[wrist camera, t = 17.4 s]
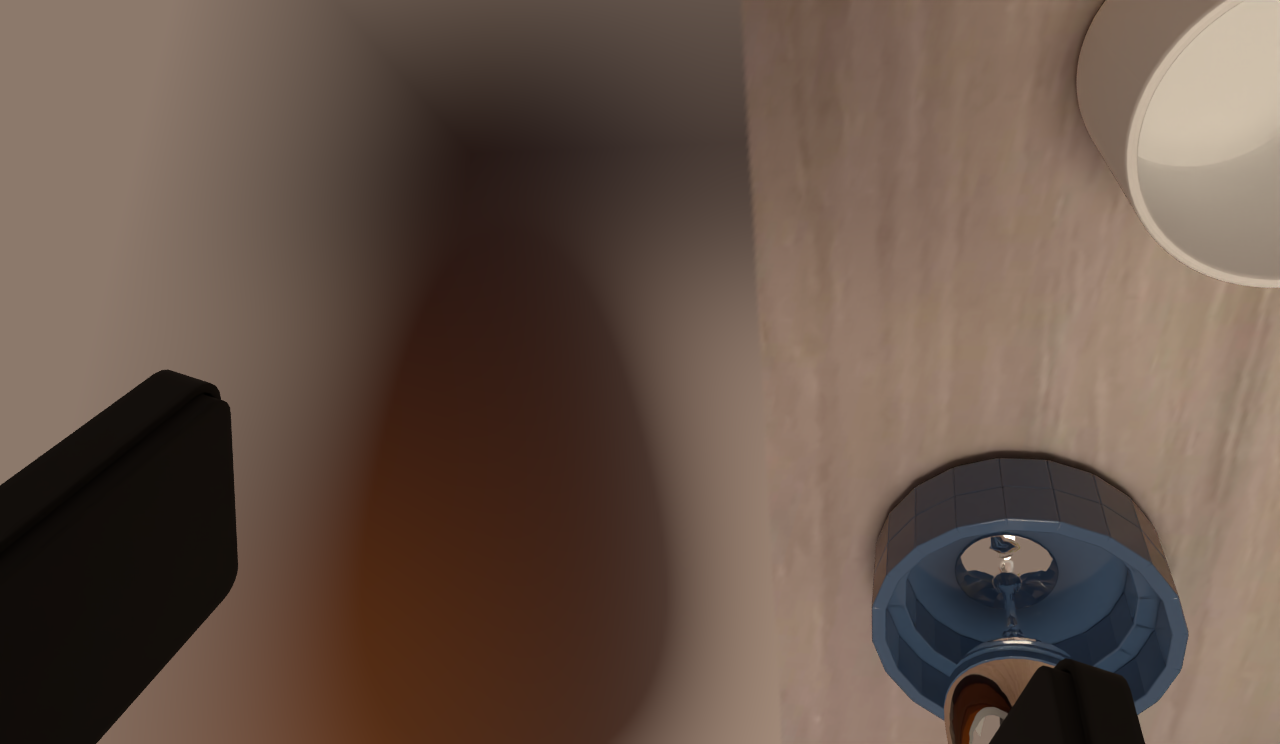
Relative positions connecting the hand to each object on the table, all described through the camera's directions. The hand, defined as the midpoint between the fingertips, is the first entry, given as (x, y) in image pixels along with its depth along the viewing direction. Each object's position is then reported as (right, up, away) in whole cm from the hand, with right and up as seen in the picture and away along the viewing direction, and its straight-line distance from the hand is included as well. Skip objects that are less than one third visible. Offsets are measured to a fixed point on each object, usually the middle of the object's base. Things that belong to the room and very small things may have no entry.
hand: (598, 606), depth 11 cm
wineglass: (+17, -6, +32) cm, 37 cm away
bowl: (+18, -6, +33) cm, 38 cm away
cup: (+21, +13, +21) cm, 33 cm away
